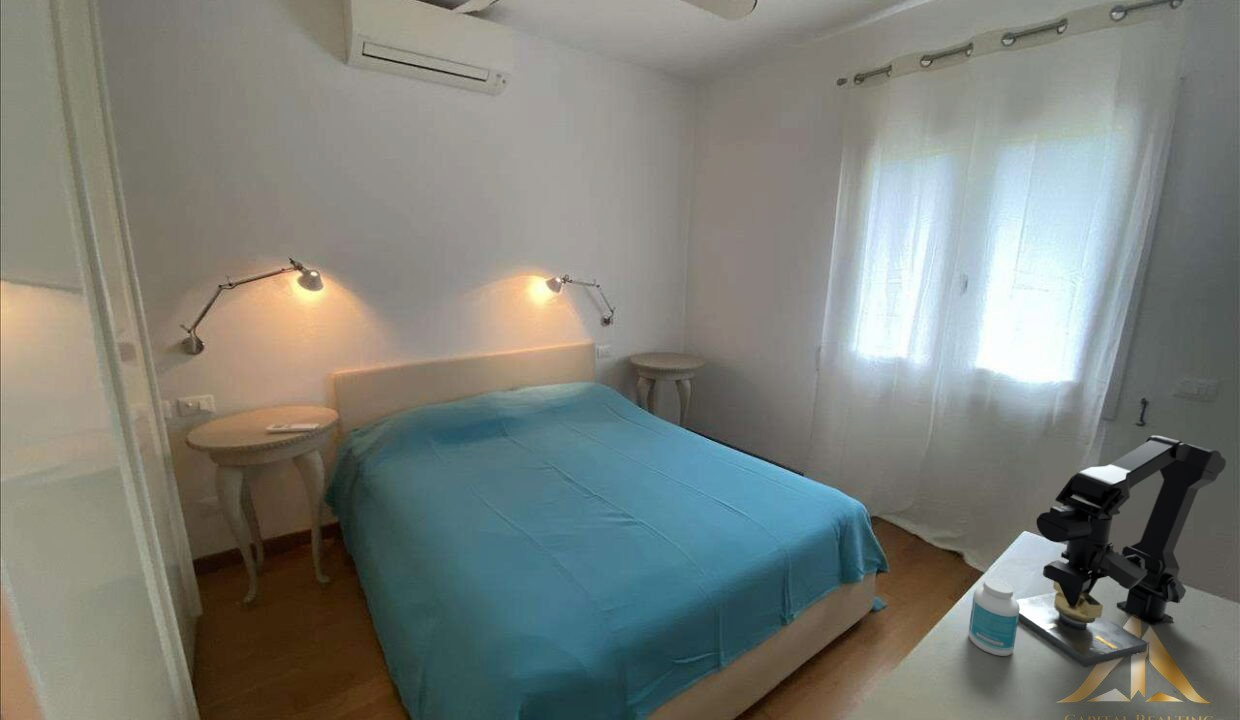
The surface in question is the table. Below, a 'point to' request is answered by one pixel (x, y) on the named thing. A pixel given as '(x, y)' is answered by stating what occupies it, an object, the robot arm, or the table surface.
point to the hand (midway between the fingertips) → (1076, 601)
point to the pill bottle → (994, 617)
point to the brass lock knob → (1077, 606)
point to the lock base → (1078, 633)
